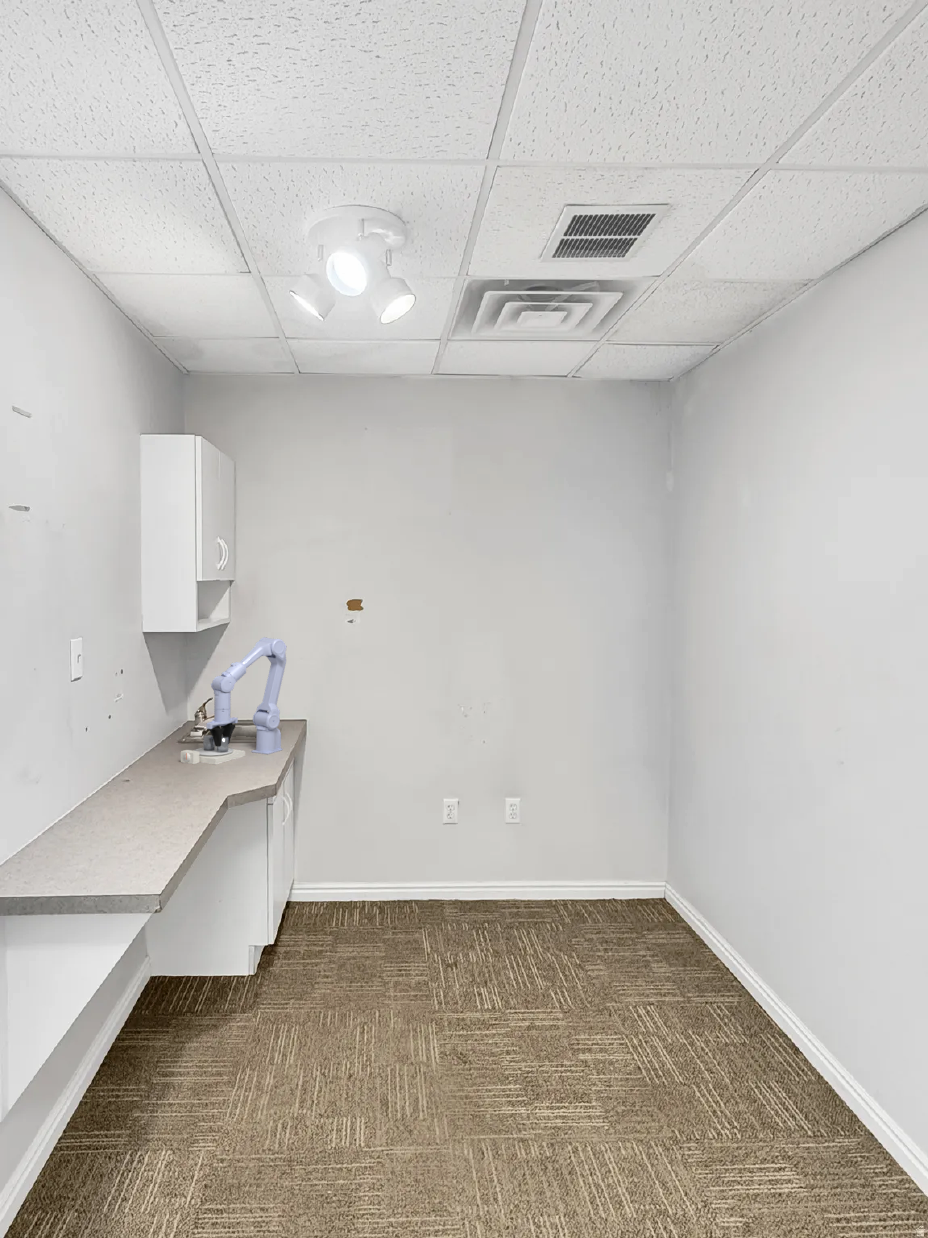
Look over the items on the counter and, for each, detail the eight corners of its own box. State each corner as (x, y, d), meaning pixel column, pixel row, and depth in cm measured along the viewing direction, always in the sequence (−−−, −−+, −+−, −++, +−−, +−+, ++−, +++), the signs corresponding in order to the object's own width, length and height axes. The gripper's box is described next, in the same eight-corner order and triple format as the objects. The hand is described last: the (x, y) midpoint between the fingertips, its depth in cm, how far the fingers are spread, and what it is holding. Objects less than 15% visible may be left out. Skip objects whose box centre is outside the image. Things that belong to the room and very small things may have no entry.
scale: (212, 751, 322) (212, 741, 322) (244, 756, 315) (245, 745, 315) (173, 761, 304) (173, 750, 304) (207, 766, 297) (207, 755, 297)
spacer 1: (208, 748, 315) (208, 735, 314) (216, 749, 313) (217, 736, 313) (201, 750, 311) (201, 736, 311) (210, 751, 309) (210, 737, 309)
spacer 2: (222, 748, 312) (222, 735, 312) (230, 750, 310) (230, 736, 310) (214, 750, 308) (214, 737, 308) (222, 752, 306) (222, 738, 306)
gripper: (227, 705, 317) (227, 740, 317) (200, 710, 304) (199, 747, 304) (242, 706, 314) (241, 742, 314) (215, 712, 301) (214, 749, 301)
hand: (222, 745), depth 309 cm, fingers closed on spacer 2, 4 cm apart
